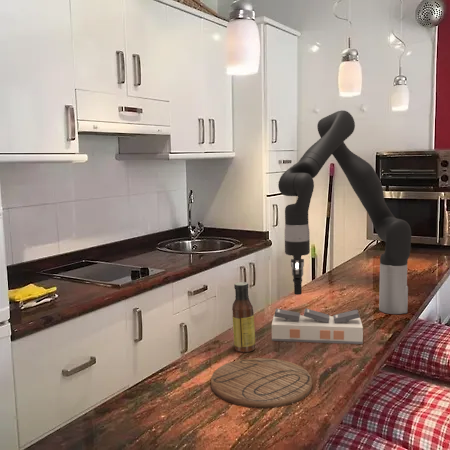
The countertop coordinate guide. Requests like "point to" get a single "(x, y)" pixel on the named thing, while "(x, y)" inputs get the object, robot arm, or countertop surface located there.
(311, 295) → the countertop surface
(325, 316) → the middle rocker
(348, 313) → the plate
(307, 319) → the switch console
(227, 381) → the trivet
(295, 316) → the far rocker
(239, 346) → the sauce bottle
